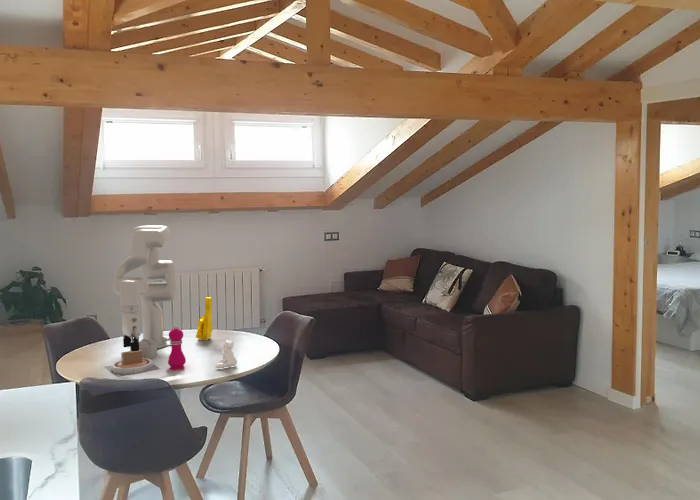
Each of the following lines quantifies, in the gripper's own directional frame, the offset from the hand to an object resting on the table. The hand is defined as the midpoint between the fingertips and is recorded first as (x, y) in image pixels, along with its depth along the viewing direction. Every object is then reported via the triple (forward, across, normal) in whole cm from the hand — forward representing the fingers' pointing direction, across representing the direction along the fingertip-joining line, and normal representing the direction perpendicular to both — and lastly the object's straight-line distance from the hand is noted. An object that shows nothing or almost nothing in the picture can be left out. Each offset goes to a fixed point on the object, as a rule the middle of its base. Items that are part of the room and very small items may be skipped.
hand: (131, 348), depth 264 cm
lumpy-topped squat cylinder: (+10, +17, -11) cm, 22 cm away
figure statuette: (+9, +33, -48) cm, 59 cm away
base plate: (+10, +1, 0) cm, 10 cm away
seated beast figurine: (+10, -18, -35) cm, 41 cm away
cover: (+8, +1, 0) cm, 8 cm away
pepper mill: (+10, -11, -15) cm, 22 cm away
